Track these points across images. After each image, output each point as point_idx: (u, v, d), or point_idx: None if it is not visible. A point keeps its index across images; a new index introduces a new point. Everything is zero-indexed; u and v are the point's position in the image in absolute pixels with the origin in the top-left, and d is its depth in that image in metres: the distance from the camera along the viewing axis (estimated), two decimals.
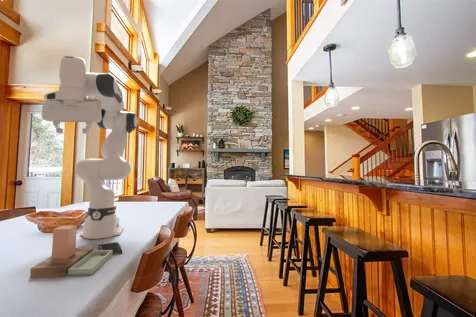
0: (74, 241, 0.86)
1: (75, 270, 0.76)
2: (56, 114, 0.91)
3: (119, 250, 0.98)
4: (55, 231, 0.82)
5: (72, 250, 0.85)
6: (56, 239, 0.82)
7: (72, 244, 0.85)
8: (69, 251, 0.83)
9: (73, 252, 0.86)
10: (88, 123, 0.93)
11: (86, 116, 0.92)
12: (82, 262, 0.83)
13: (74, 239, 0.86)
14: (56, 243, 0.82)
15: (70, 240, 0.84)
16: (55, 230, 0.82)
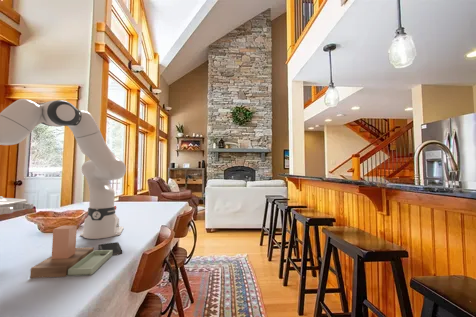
0: (74, 241, 0.86)
1: (75, 270, 0.76)
2: None
3: (119, 250, 0.98)
4: (55, 231, 0.82)
5: (72, 250, 0.85)
6: (56, 239, 0.82)
7: (72, 244, 0.85)
8: (69, 251, 0.83)
9: (73, 252, 0.86)
10: None
11: None
12: (82, 262, 0.83)
13: (74, 239, 0.86)
14: (56, 243, 0.82)
15: (70, 240, 0.84)
16: (55, 230, 0.82)
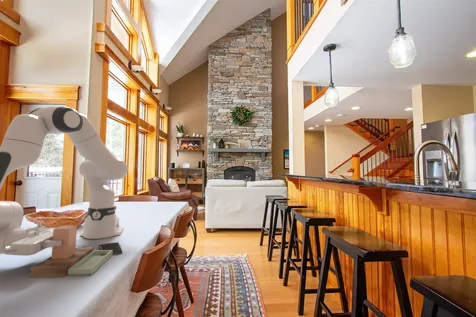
0: (74, 241, 0.86)
1: (75, 270, 0.76)
2: None
3: (119, 250, 0.98)
4: (55, 231, 0.82)
5: (72, 250, 0.85)
6: (56, 239, 0.82)
7: (72, 244, 0.85)
8: (69, 251, 0.83)
9: (73, 252, 0.86)
10: None
11: None
12: (82, 262, 0.83)
13: (74, 239, 0.86)
14: None
15: (70, 240, 0.84)
16: (55, 230, 0.82)
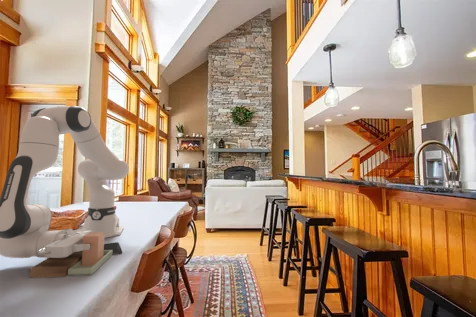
0: (102, 248, 0.87)
1: (75, 270, 0.76)
2: None
3: (119, 250, 0.98)
4: (85, 238, 0.83)
5: (101, 257, 0.86)
6: None
7: (100, 251, 0.86)
8: (98, 258, 0.84)
9: None
10: None
11: None
12: None
13: (103, 246, 0.87)
14: None
15: (99, 247, 0.85)
16: (85, 237, 0.83)
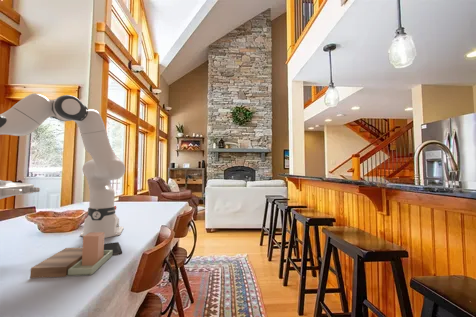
0: (102, 248, 0.87)
1: (75, 270, 0.76)
2: None
3: (119, 250, 0.98)
4: (85, 238, 0.83)
5: (101, 257, 0.86)
6: (86, 246, 0.83)
7: (100, 251, 0.86)
8: (98, 258, 0.84)
9: None
10: (5, 195, 0.84)
11: None
12: None
13: (103, 246, 0.87)
14: (86, 249, 0.83)
15: (99, 247, 0.85)
16: (85, 237, 0.83)
